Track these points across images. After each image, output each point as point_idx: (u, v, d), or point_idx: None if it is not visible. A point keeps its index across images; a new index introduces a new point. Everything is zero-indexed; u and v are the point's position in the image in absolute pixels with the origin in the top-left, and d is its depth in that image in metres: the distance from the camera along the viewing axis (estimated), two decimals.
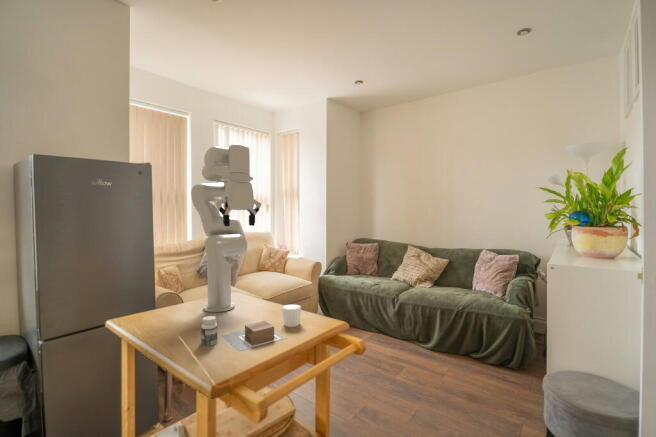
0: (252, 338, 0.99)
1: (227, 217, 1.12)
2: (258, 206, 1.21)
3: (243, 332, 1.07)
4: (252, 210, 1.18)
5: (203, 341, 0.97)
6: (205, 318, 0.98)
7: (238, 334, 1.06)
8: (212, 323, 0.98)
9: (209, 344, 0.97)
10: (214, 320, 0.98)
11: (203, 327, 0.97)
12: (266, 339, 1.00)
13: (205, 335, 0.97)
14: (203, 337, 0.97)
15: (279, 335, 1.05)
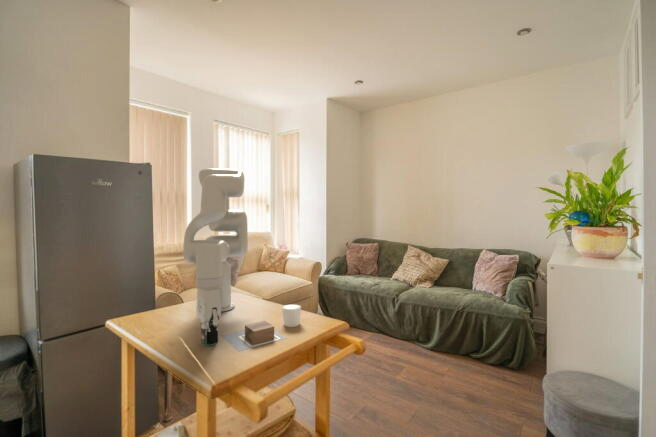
0: (252, 338, 0.99)
1: (216, 332, 0.97)
2: None
3: (243, 332, 1.07)
4: None
5: (203, 341, 0.97)
6: None
7: (238, 334, 1.06)
8: (212, 323, 0.98)
9: None
10: None
11: (203, 327, 0.97)
12: (266, 339, 1.00)
13: (205, 335, 0.97)
14: (203, 337, 0.97)
15: (279, 335, 1.05)
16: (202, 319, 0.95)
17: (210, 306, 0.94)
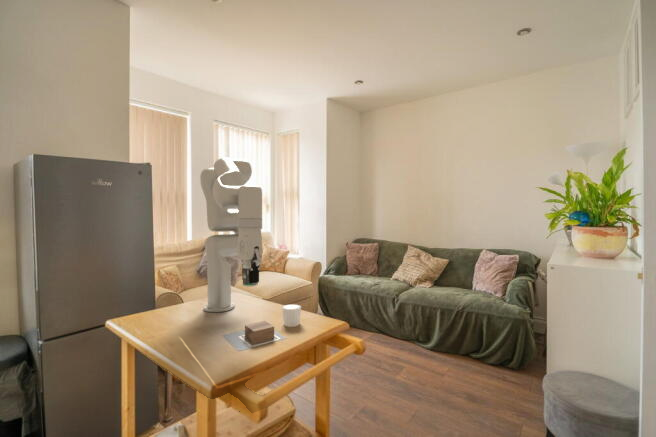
0: (252, 338, 0.99)
1: (257, 272, 1.00)
2: None
3: (243, 332, 1.07)
4: None
5: (245, 280, 1.00)
6: None
7: (238, 334, 1.06)
8: None
9: (251, 283, 0.99)
10: None
11: (245, 267, 1.00)
12: (266, 339, 1.00)
13: (247, 274, 0.99)
14: (245, 276, 1.00)
15: (279, 335, 1.05)
16: (245, 258, 0.98)
17: (253, 245, 0.97)
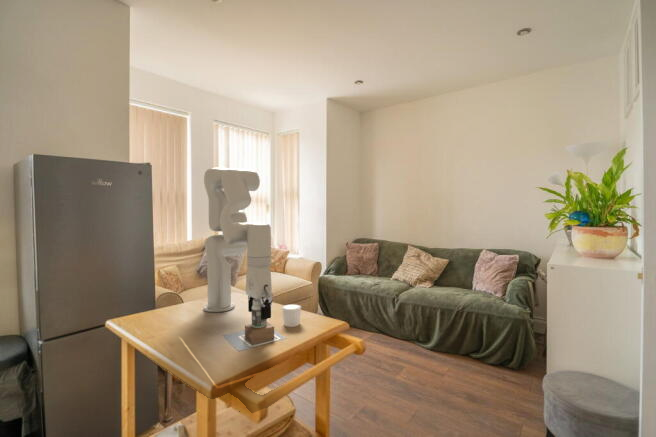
0: (252, 338, 0.99)
1: None
2: None
3: (243, 332, 1.07)
4: None
5: (254, 322, 1.00)
6: (255, 300, 1.02)
7: (238, 334, 1.06)
8: None
9: (260, 325, 1.00)
10: None
11: (254, 308, 1.01)
12: (266, 339, 1.00)
13: (256, 316, 1.00)
14: (254, 318, 1.01)
15: (279, 335, 1.05)
16: (254, 296, 0.99)
17: (262, 283, 0.98)
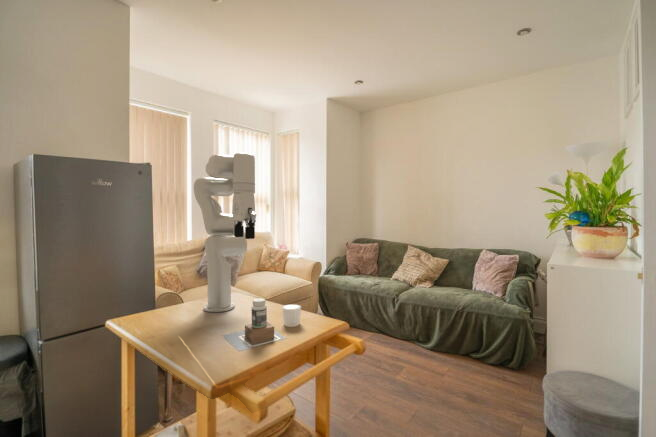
0: (252, 338, 0.99)
1: (253, 229, 1.08)
2: None
3: (243, 332, 1.07)
4: None
5: (254, 322, 1.00)
6: (255, 300, 1.02)
7: (238, 334, 1.06)
8: (262, 304, 1.01)
9: (260, 325, 1.00)
10: (264, 302, 1.02)
11: (254, 308, 1.01)
12: (266, 339, 1.00)
13: (256, 316, 1.00)
14: (254, 318, 1.01)
15: (279, 335, 1.05)
16: (239, 218, 1.08)
17: (246, 206, 1.07)
